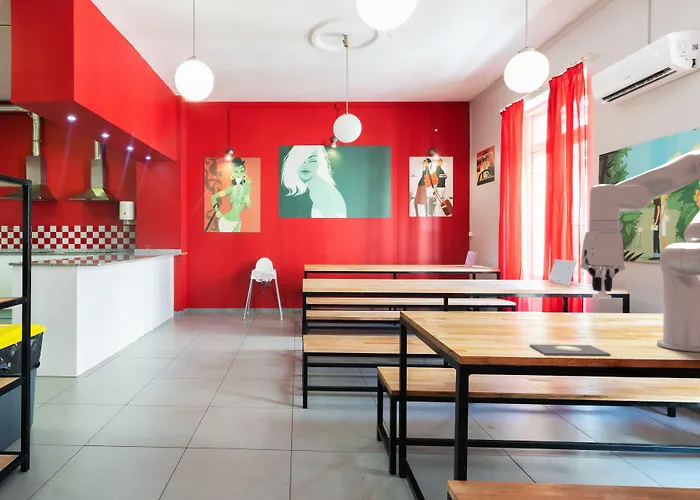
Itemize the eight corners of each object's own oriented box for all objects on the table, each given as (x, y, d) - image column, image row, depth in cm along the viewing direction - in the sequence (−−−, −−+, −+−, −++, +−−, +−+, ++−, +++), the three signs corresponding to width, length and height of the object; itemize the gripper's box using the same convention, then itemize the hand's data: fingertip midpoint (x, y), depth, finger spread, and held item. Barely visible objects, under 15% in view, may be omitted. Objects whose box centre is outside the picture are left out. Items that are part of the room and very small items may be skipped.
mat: (589, 346, 132) (589, 344, 132) (610, 355, 121) (610, 353, 121) (529, 346, 133) (529, 344, 133) (544, 354, 122) (544, 352, 122)
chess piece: (614, 299, 124) (615, 264, 124) (595, 298, 125) (596, 263, 125) (607, 297, 129) (608, 263, 129) (589, 296, 129) (590, 263, 130)
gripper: (623, 229, 130) (621, 290, 130) (569, 227, 131) (568, 288, 131) (639, 227, 123) (637, 293, 123) (582, 226, 123) (580, 291, 123)
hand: (601, 290), depth 127 cm, fingers closed on chess piece
